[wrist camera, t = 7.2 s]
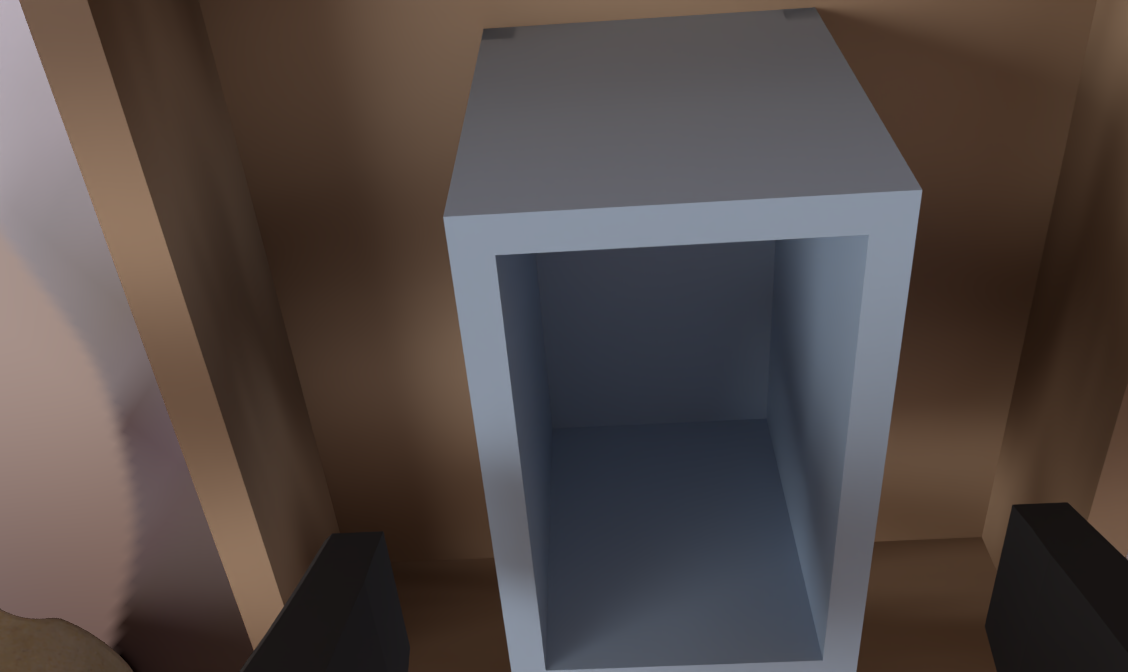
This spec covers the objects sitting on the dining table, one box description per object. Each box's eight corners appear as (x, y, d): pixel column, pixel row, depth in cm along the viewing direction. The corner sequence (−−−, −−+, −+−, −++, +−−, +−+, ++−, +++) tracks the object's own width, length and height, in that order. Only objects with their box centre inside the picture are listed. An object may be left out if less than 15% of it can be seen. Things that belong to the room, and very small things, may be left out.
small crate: (787, 421, 20) (855, 681, 16) (529, 433, 21) (514, 692, 16) (814, 7, 16) (922, 189, 11) (483, 28, 16) (443, 216, 11)
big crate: (998, 528, 23) (1078, 702, 20) (327, 557, 24) (282, 730, 20) (1190, -321, 14) (1404, -294, 11) (106, -235, 15) (-47, -181, 11)
